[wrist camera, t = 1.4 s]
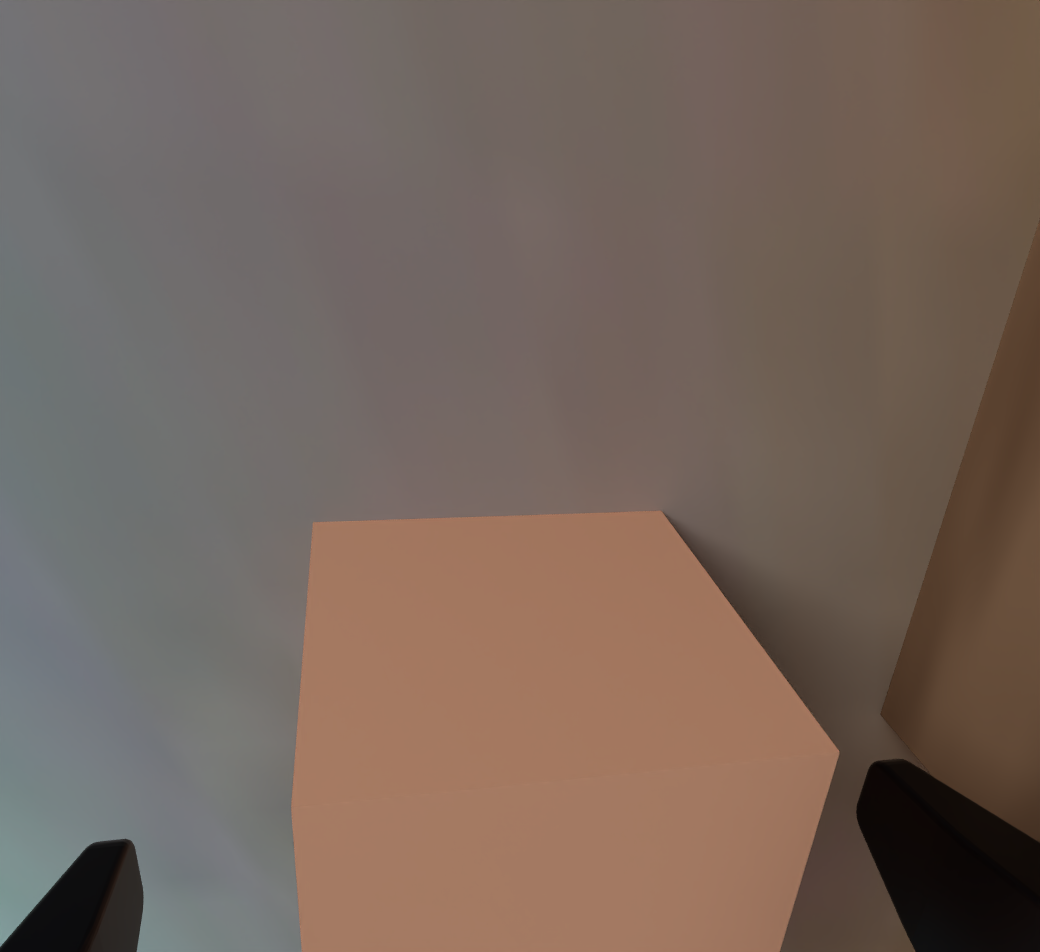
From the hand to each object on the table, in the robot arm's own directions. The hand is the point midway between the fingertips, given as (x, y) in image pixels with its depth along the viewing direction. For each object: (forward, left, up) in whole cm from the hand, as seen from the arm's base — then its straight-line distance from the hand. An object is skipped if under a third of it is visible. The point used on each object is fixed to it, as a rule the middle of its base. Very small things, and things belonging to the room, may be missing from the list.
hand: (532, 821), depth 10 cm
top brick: (0, 0, -3) cm, 3 cm away
